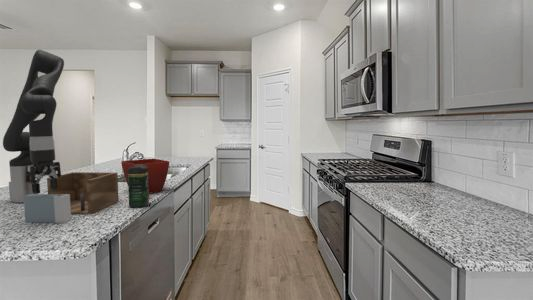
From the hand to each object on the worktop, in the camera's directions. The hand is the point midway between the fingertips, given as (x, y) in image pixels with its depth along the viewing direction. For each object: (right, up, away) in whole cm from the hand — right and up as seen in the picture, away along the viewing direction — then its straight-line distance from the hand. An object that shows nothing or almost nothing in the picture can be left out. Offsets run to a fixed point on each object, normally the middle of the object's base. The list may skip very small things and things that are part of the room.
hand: (45, 191), depth 116 cm
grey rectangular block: (0, -12, +1) cm, 12 cm away
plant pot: (+18, -7, +52) cm, 56 cm away
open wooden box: (+2, -10, +21) cm, 23 cm away
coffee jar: (+26, -10, +23) cm, 36 cm away
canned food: (+22, -9, +36) cm, 43 cm away
